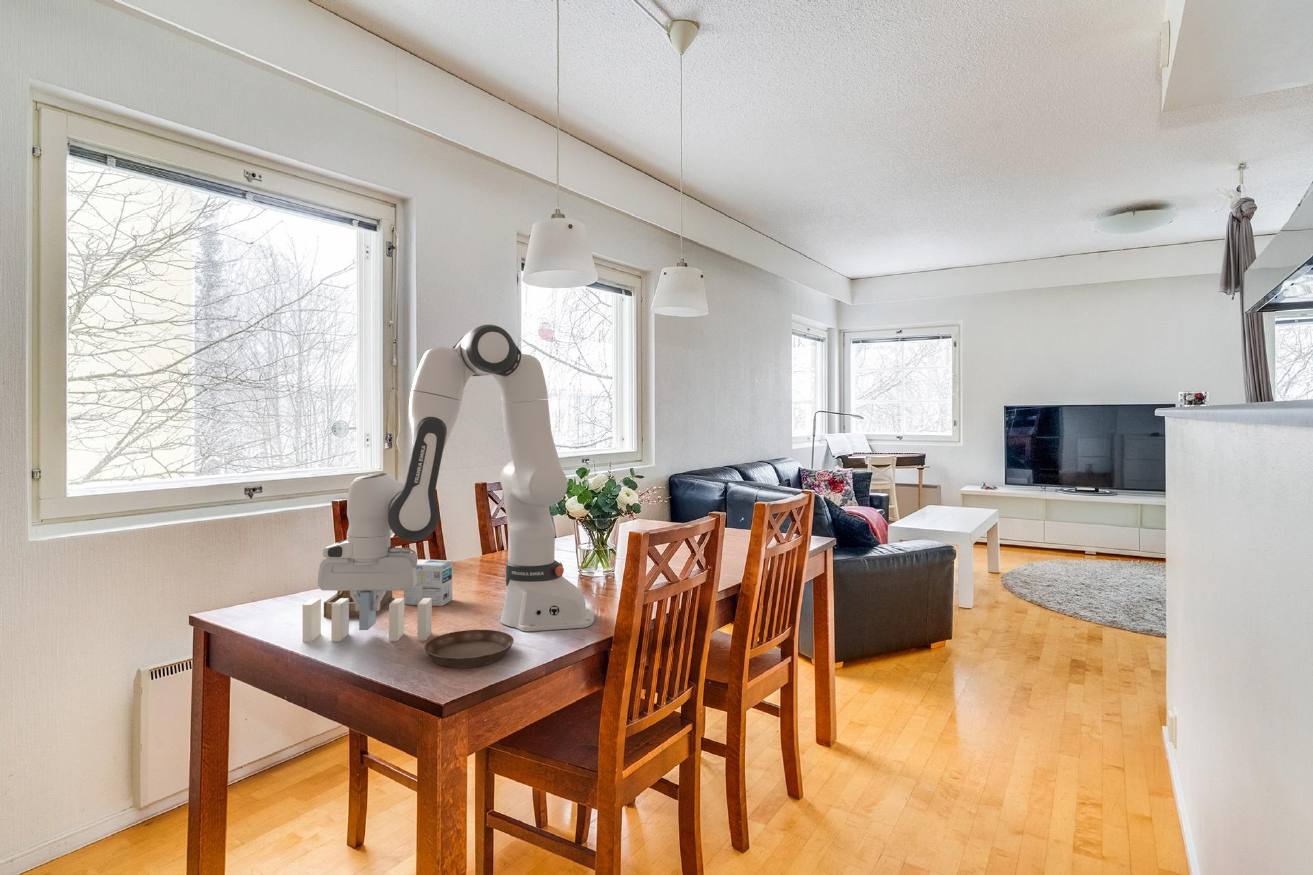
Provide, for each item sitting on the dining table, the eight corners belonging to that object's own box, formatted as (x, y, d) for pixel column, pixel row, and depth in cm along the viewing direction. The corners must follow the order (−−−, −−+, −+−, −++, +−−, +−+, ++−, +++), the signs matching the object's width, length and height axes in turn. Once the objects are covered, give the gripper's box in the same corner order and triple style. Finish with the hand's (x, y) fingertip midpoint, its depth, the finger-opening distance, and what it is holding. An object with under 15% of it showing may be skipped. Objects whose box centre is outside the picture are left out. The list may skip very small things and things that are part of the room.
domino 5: (431, 633, 153) (431, 597, 152) (425, 640, 148) (426, 604, 147) (423, 633, 152) (423, 597, 152) (417, 640, 147) (417, 604, 147)
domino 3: (375, 623, 151) (375, 587, 151) (367, 630, 146) (368, 593, 146) (367, 623, 151) (367, 587, 151) (359, 630, 146) (359, 593, 146)
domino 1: (320, 634, 151) (320, 598, 150) (311, 641, 146) (311, 604, 145) (312, 634, 150) (312, 598, 150) (302, 641, 145) (302, 604, 145)
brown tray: (393, 596, 182) (393, 583, 182) (369, 617, 163) (369, 603, 163) (350, 596, 181) (351, 583, 181) (322, 617, 162) (322, 603, 162)
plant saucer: (405, 659, 137) (405, 644, 137) (473, 636, 151) (473, 623, 151) (464, 679, 127) (465, 663, 127) (531, 653, 142) (531, 639, 142)
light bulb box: (453, 599, 180) (453, 559, 180) (442, 606, 174) (443, 565, 173) (414, 598, 181) (414, 558, 181) (402, 604, 175) (403, 563, 174)
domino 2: (348, 633, 151) (348, 598, 151) (340, 641, 146) (340, 604, 146) (340, 633, 151) (340, 598, 151) (331, 641, 146) (331, 604, 146)
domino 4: (404, 633, 152) (404, 598, 152) (397, 640, 147) (397, 604, 147) (395, 633, 152) (396, 598, 152) (388, 640, 147) (389, 604, 147)
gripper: (421, 545, 152) (420, 606, 153) (326, 544, 151) (325, 605, 151) (413, 550, 146) (412, 614, 146) (314, 549, 144) (314, 614, 145)
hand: (367, 610), depth 149 cm, fingers closed on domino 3, 2 cm apart
